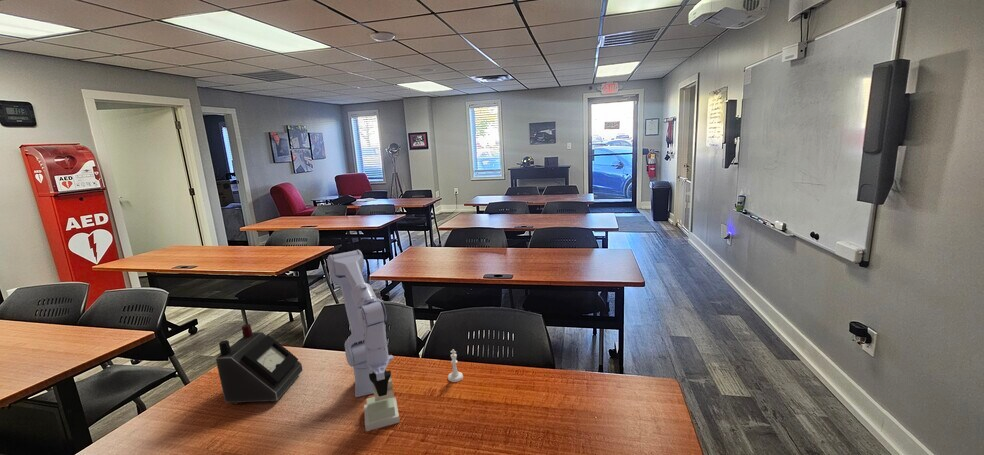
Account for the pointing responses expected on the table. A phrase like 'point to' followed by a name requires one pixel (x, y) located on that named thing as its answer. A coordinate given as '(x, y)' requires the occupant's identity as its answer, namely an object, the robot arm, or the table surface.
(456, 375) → the chess piece
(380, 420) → the tower base
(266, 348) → the voltmeter
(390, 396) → the maple cube
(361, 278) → the robot arm
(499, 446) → the table surface
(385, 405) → the tower top
